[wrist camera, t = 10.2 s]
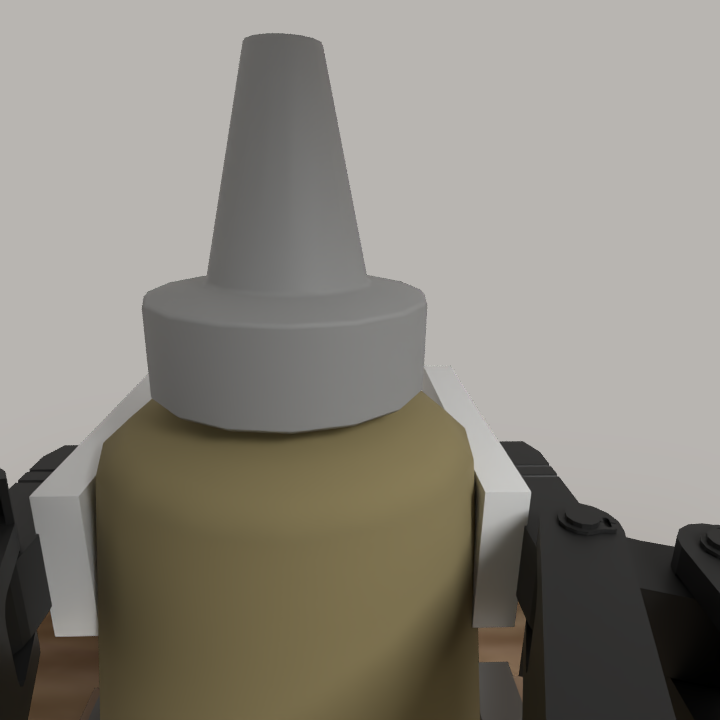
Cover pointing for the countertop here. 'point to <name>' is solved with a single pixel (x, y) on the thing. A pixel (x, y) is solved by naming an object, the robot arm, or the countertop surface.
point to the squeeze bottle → (286, 459)
